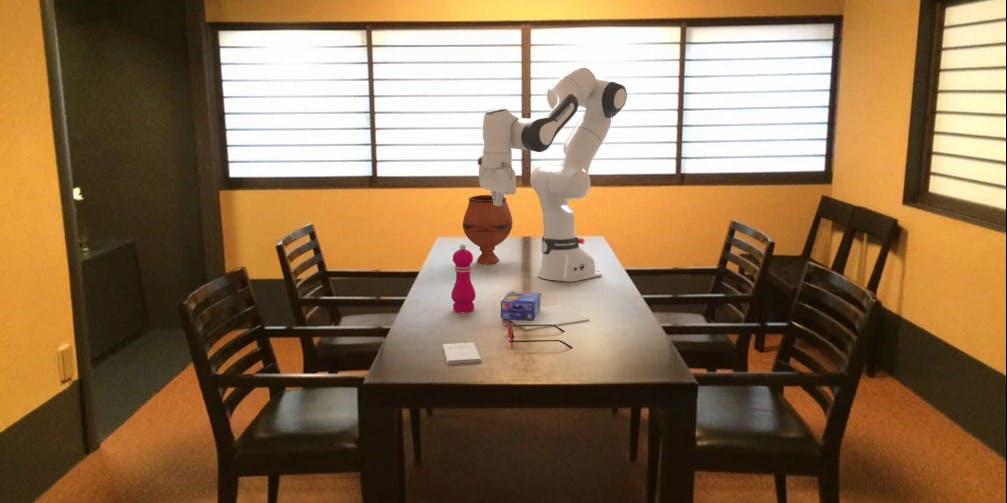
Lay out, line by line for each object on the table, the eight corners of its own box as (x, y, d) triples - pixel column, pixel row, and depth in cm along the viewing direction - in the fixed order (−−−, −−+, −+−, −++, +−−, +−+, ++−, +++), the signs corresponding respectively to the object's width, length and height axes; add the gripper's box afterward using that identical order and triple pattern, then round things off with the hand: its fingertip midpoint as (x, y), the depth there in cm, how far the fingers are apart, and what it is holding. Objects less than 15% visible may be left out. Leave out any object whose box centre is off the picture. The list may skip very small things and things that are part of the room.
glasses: (504, 334, 205) (504, 316, 204) (565, 333, 206) (565, 315, 205) (508, 351, 191) (508, 332, 190) (573, 350, 192) (573, 331, 191)
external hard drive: (447, 366, 181) (442, 349, 193) (481, 364, 183) (474, 347, 195) (447, 360, 181) (442, 343, 193) (481, 358, 182) (474, 341, 194)
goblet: (477, 269, 277) (476, 202, 272) (454, 259, 293) (453, 196, 288) (522, 263, 286) (522, 198, 281) (497, 254, 303) (497, 192, 297)
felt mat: (561, 306, 229) (561, 305, 229) (589, 320, 215) (589, 319, 215) (501, 314, 221) (501, 313, 221) (526, 330, 207) (526, 328, 207)
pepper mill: (479, 307, 229) (478, 242, 224) (470, 314, 222) (469, 247, 218) (457, 305, 231) (456, 241, 227) (447, 311, 224) (446, 246, 220)
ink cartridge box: (541, 291, 224) (532, 305, 210) (541, 309, 225) (532, 324, 211) (508, 289, 226) (498, 304, 212) (508, 307, 227) (498, 322, 213)
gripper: (521, 163, 225) (521, 209, 228) (493, 158, 243) (493, 200, 246) (502, 164, 222) (502, 210, 225) (475, 159, 241) (475, 202, 243)
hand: (497, 205), depth 236 cm, fingers closed
